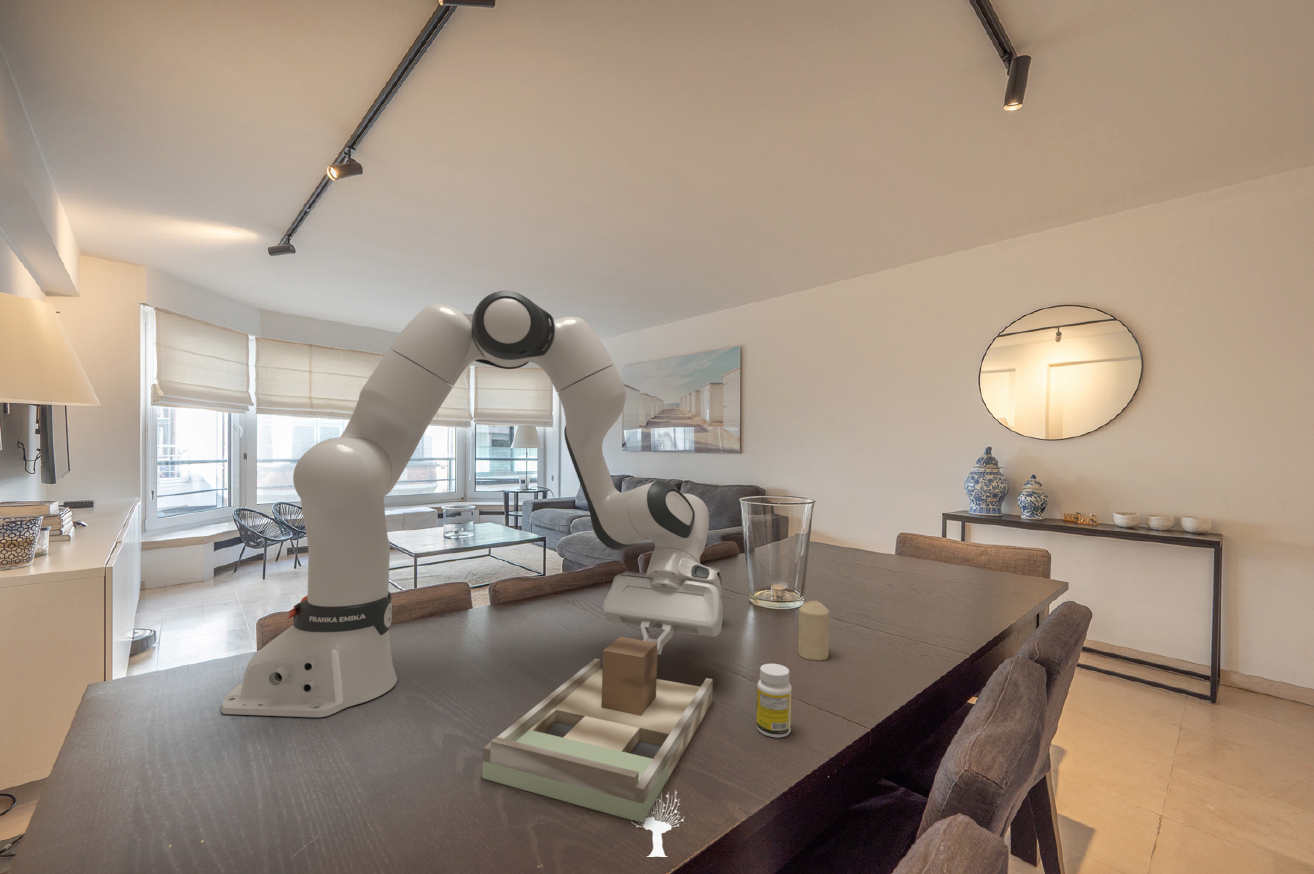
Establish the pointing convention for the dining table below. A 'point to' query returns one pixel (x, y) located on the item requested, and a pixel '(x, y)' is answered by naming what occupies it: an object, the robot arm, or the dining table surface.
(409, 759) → the dining table surface
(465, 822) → the dining table surface
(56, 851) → the dining table surface
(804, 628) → the candle
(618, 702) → the walnut block
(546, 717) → the box
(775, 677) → the supplement bottle
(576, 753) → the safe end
